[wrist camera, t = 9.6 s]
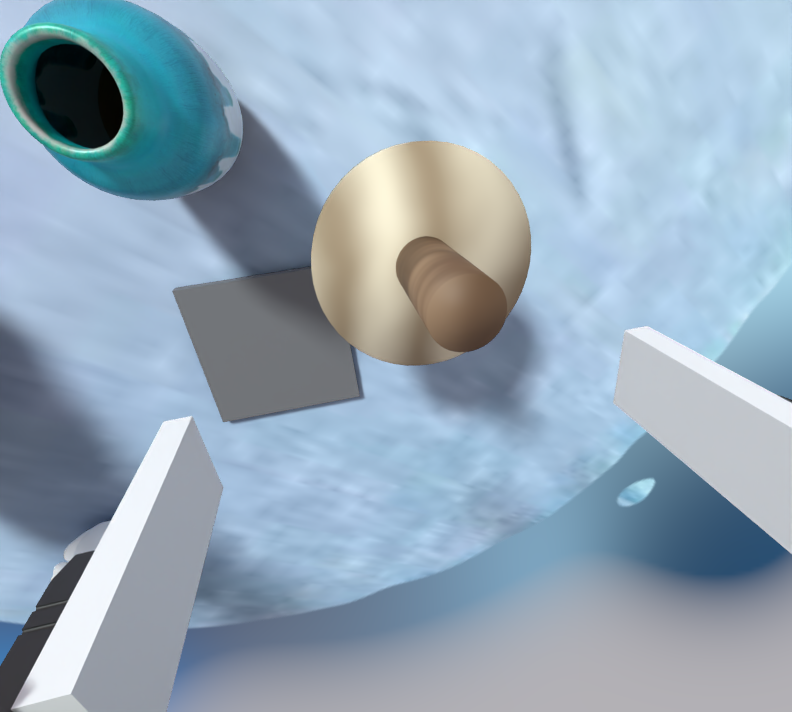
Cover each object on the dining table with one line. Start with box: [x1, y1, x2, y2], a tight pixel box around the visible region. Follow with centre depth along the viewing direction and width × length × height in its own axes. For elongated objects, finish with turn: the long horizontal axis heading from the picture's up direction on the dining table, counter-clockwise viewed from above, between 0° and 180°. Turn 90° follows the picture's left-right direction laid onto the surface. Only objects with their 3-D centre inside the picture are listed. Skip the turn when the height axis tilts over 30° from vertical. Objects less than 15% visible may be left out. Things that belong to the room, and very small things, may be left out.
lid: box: [311, 141, 531, 365], centre depth 24 cm, size 15×15×10 cm
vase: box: [0, 0, 243, 201], centre depth 27 cm, size 11×11×19 cm
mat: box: [173, 267, 360, 422], centre depth 45 cm, size 16×16×1 cm
